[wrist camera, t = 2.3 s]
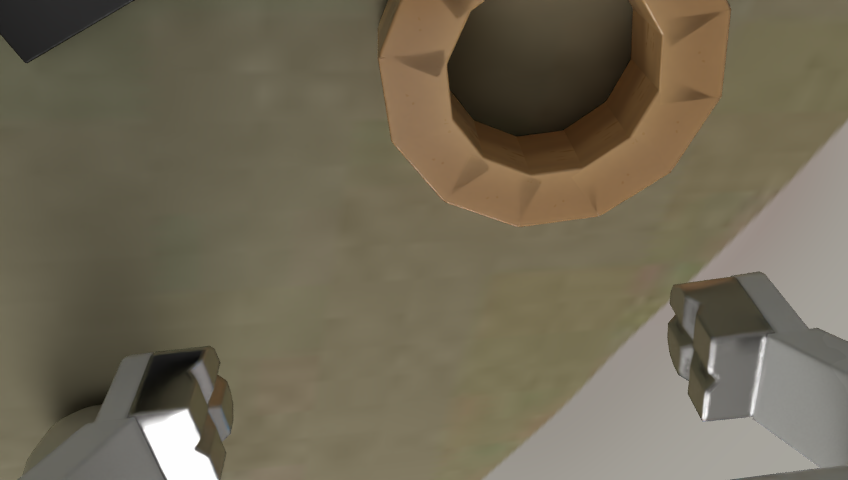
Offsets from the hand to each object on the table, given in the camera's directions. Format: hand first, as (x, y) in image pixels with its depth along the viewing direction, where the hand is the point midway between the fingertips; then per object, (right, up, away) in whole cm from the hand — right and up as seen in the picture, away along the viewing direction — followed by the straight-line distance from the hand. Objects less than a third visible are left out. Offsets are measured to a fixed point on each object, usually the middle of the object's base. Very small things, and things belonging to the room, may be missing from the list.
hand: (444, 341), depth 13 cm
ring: (+3, +8, +12) cm, 15 cm away
